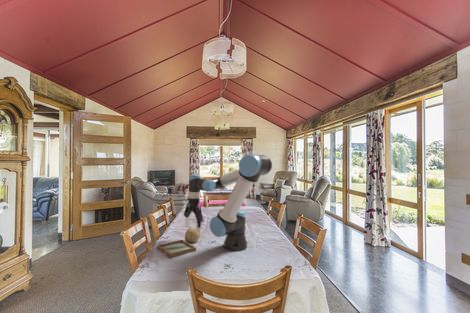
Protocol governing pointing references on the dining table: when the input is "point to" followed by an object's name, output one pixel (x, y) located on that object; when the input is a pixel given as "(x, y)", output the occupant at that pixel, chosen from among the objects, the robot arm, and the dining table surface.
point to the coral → (192, 235)
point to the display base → (176, 248)
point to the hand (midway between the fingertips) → (192, 229)
